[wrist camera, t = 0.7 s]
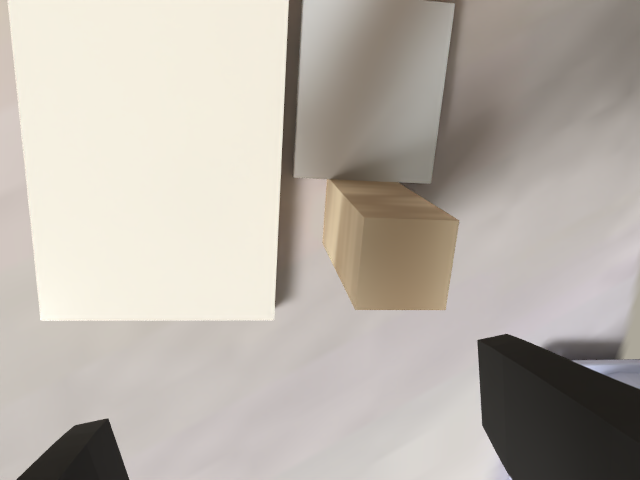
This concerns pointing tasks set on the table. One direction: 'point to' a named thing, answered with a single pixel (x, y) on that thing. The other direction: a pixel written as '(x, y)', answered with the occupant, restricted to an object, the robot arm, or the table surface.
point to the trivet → (152, 155)
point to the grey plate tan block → (377, 144)
